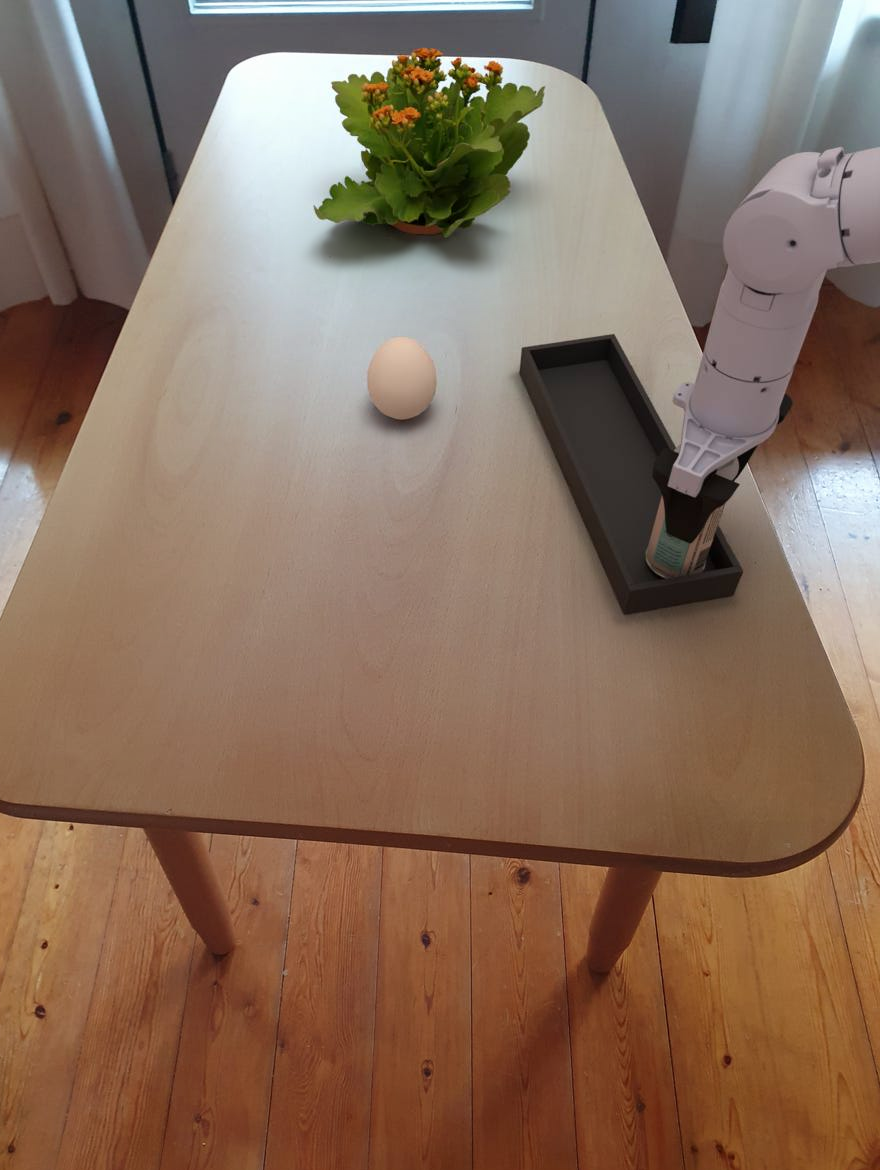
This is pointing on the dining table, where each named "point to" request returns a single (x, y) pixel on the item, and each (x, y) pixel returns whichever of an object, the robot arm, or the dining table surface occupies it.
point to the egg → (401, 378)
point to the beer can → (678, 555)
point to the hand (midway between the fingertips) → (702, 504)
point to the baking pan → (615, 467)
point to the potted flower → (429, 144)
